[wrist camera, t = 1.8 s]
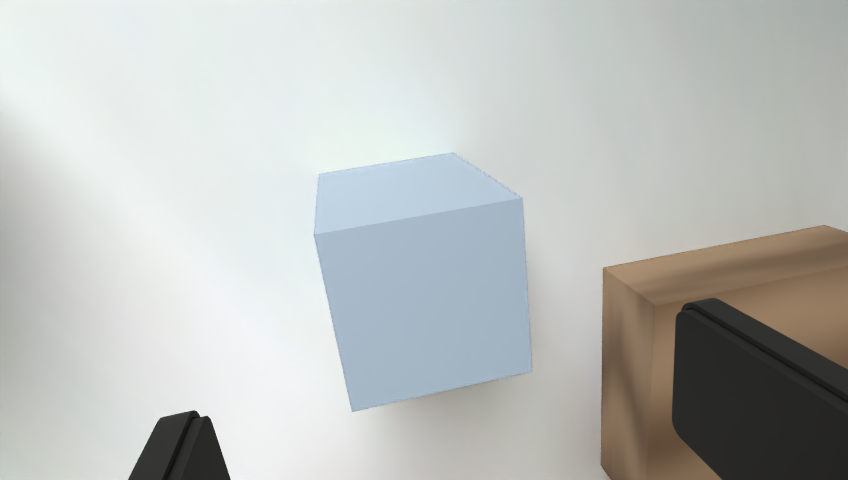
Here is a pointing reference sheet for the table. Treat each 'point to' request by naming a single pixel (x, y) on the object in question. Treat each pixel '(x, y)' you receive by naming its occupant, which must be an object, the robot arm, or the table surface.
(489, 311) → the slate block
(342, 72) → the table surface
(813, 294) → the walnut block
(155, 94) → the table surface
